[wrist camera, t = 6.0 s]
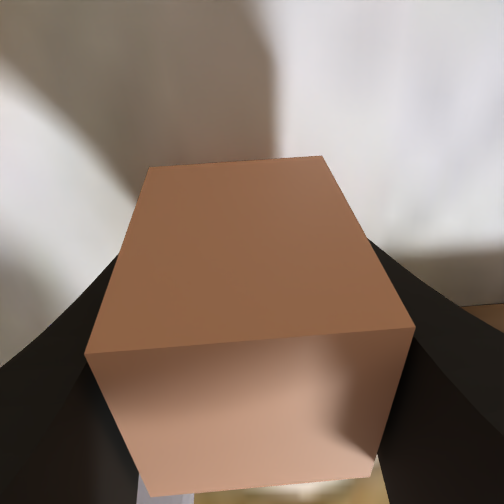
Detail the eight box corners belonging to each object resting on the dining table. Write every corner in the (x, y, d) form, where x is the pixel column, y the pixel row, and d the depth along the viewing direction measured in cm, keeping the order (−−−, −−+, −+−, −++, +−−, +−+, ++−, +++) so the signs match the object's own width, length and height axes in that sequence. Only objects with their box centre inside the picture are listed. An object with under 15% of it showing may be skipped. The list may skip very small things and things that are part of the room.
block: (176, 295, 13) (150, 497, 8) (149, 167, 10) (84, 353, 5) (313, 284, 13) (369, 477, 8) (321, 155, 10) (415, 327, 5)
